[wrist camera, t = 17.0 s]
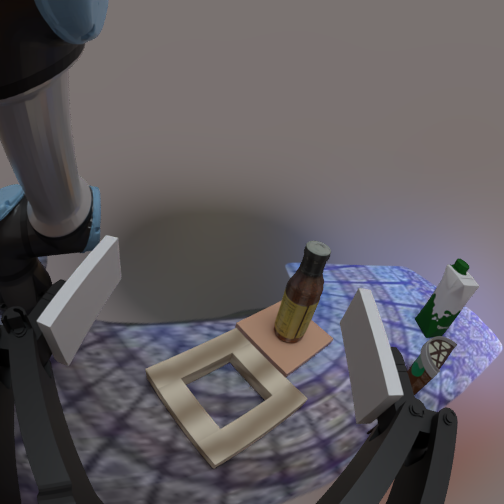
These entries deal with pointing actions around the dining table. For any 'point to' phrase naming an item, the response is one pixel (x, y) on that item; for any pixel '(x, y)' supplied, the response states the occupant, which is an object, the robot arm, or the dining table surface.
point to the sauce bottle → (302, 294)
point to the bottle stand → (193, 414)
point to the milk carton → (447, 300)
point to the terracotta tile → (278, 351)
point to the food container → (429, 361)
